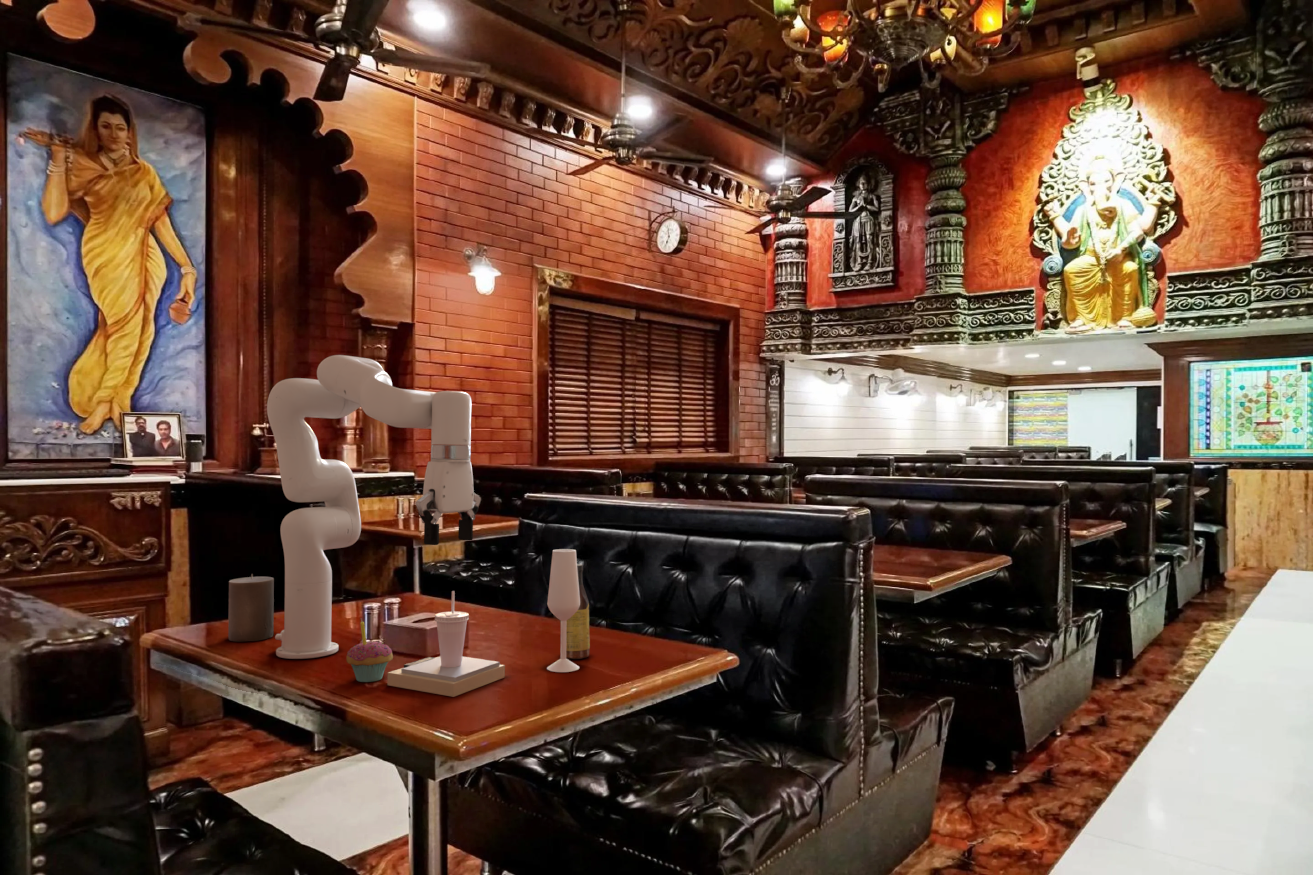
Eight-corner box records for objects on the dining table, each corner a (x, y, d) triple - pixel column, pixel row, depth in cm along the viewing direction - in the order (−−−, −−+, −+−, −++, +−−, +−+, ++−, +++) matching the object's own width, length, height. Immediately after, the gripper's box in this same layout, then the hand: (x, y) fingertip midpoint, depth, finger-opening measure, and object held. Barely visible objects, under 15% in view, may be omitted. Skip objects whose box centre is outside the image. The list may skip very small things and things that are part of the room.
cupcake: (365, 687, 155) (366, 622, 155) (336, 680, 159) (337, 617, 160) (401, 677, 162) (402, 615, 162) (372, 670, 167) (373, 610, 167)
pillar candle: (280, 637, 196) (281, 573, 196) (237, 644, 189) (238, 578, 189) (262, 631, 203) (263, 569, 203) (220, 637, 195) (221, 573, 196)
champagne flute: (549, 663, 173) (550, 548, 174) (581, 663, 173) (582, 548, 174) (544, 671, 167) (545, 552, 167) (577, 672, 166) (578, 552, 167)
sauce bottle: (595, 656, 179) (596, 564, 180) (573, 661, 175) (574, 567, 175) (575, 651, 184) (576, 561, 184) (553, 656, 179) (554, 564, 180)
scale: (387, 685, 156) (387, 668, 156) (441, 667, 170) (442, 651, 170) (453, 696, 149) (453, 679, 149) (504, 677, 162) (505, 660, 162)
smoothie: (472, 661, 162) (473, 589, 162) (461, 669, 156) (462, 594, 156) (441, 660, 163) (441, 588, 163) (428, 668, 156) (429, 594, 156)
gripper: (465, 454, 172) (463, 537, 171) (404, 454, 156) (401, 544, 156) (494, 455, 168) (492, 539, 168) (434, 454, 153) (432, 547, 153)
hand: (448, 542), depth 162 cm, fingers open, 9 cm apart
